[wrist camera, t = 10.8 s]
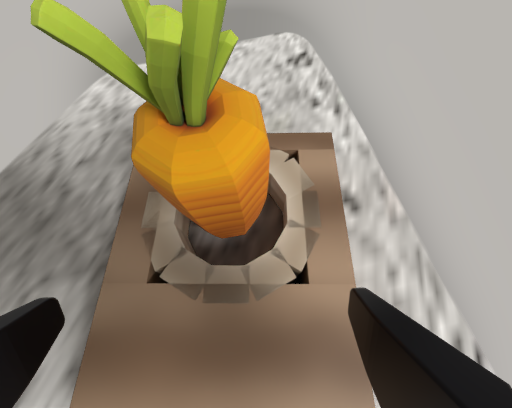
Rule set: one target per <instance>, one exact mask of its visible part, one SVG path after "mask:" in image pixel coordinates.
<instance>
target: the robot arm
mask: <svg viewBox="0 0 512 408" xmlns="http://www.w3.org/2000/svg"><path fill="white" fill-rule="evenodd" d="M348 316H349V320H350V323H351V326H352V329H353V332H354V336H355V339H356V342H357V345H358V349H359V352H360V355H361V358H362V361H363V364H364V367H365V370H366V373H367V376H368V378H369V381H370V383H371V386H372V388H373V390H374V393H375V395H376V397H377V400H378V402H379V405H380V407H381V408H512V388H511V387H510V385H509V384H507V383H506V382H505V381H503V380H502V379H500V378H499V377H497V376H496V375H494V374H493V373H491V372H490V371H488V370H487V369H485V368H484V367H482V366H481V365H479V364H478V363H476V362H475V361H473V360H472V359H470V358H469V357H468V356H466V355H465V354H463V353H462V352H460V351H459V350H457V349H456V348H454V347H453V346H451V345H450V344H448V343H447V342H445V341H444V340H442V339H441V338H439V337H438V336H436V335H435V334H433V333H432V332H430V331H429V330H427V329H426V328H424V327H423V326H422V325H420V324H419V323H417V322H416V321H414V320H413V319H411V318H410V317H408V316H407V315H405V314H404V313H402V312H401V311H399V310H398V309H396V308H395V307H393V306H392V305H390V304H389V303H387V302H386V301H384V300H383V299H381V298H380V297H378V296H377V295H376V294H374V293H373V292H371V291H370V290H368V289H366V288H352V289H351V290H350V295H349V304H348ZM64 323H65V317H64V315H63V312H62V309H61V307H60V304H59V302H58V300H57V299H56V298H53V297H49V298H39V299H36V300H34V301H32V302H30V303H28V304H26V305H23V306H21V307H19V308H17V309H15V310H13V311H11V312H8V313H6V314H4V315H2V316H0V408H13V406H14V405H15V403H16V402H17V401H18V399H19V398H20V396H21V395H22V393H23V392H24V390H25V389H26V387H27V386H28V384H29V383H30V381H31V380H32V378H33V377H34V375H35V373H36V372H37V370H38V368H39V367H40V365H41V363H42V362H43V360H44V358H45V357H46V355H47V353H48V352H49V350H50V348H51V346H52V345H53V343H54V341H55V340H56V338H57V336H58V335H59V333H60V331H61V329H62V328H63V326H64Z"/></svg>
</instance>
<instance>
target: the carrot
mask: <svg viewBox="0 0 512 408" xmlns="http://www.w3.org/2000/svg"><path fill="white" fill-rule="evenodd" d="M122 2H123V4H124V7H125V9H126V12H127V14H128V16H129V18H130V21H131V23H132V25H133V27H134V29H135V31H136V34H137V36H138V38H139V40H140V42H141V44H142V46H143V49H144V51H145V54H146V64H147V74H148V75H147V74H146V73H145V72H144V71H142V70H141V69H140V68H139V67H138V66H137V65H136V64H135V63H134V62H133V61H132V60H131V59H130V58H129V57H128V56H127V55H126V54H124V52H123V51H121V50H120V49H119V48H118V47H117V46H116V45H115V44H114V43H113V42H112V41H111V40H110V39H109V38H108V37H107V36H106V35H105V34H103V33H102V32H101V31H99V30H98V29H97V28H95V27H94V26H92V25H91V24H90V23H88V22H87V21H85V20H84V19H83V18H81V17H80V16H78V15H77V14H76V13H74V12H73V11H71V10H70V9H69V8H67V7H65V6H63V5H61V4H59V3H58V2H56V1H54V0H34V2H33V3H32V5H31V24H32V25H33V26H35V27H36V28H38V29H39V30H41V31H42V32H44V33H46V34H47V35H49V36H50V37H52V38H53V39H55V40H56V41H58V42H60V43H62V44H63V45H65V46H67V47H69V48H70V49H72V50H74V51H75V52H77V53H79V54H80V55H82V56H84V57H85V58H87V59H88V60H90V61H91V62H93V63H94V64H95V65H97V66H98V67H100V68H101V69H102V70H104V71H105V72H107V73H108V74H110V75H111V76H112V77H114V78H115V79H117V80H118V81H119V82H121V83H122V84H124V85H125V86H127V87H128V88H129V89H131V90H132V91H134V92H135V93H136V94H138V95H139V96H140V97H142V98H143V99H145V100H146V102H145V103H144V104H143V105H142V106H140V107H139V108H138V109H137V111H136V113H135V114H134V122H133V138H132V153H131V158H132V161H133V164H134V166H135V168H136V169H137V171H138V172H139V173H140V174H141V175H142V176H143V177H144V178H145V179H146V180H147V181H148V182H149V183H150V184H151V185H152V186H153V187H154V188H155V189H156V190H157V191H158V192H159V193H160V194H161V195H162V196H163V197H164V198H165V199H166V200H167V201H168V202H169V203H171V204H172V205H173V206H174V207H175V208H176V209H177V210H178V211H179V212H181V213H182V214H183V215H185V216H186V217H188V218H189V219H190V220H192V221H193V222H195V223H196V224H197V225H199V226H200V227H201V228H203V229H204V230H206V231H207V232H209V233H211V234H212V235H214V236H217V237H219V238H228V237H234V236H240V235H245V234H246V233H247V231H248V230H249V229H250V227H251V226H252V225H253V223H254V222H255V221H256V219H257V218H258V216H259V214H260V212H261V210H262V208H263V206H264V203H265V200H266V198H267V190H268V181H269V163H270V147H269V141H268V137H267V133H266V129H265V124H264V120H263V116H262V112H261V107H260V103H259V101H258V98H257V96H256V95H254V94H252V93H250V92H248V91H246V90H244V89H241V88H239V87H237V86H235V85H233V84H231V83H229V82H227V81H225V80H223V79H221V78H220V76H221V74H222V72H223V70H224V68H225V66H226V64H227V61H228V59H229V57H230V55H231V53H232V51H233V49H234V47H235V45H236V43H237V41H238V37H237V36H236V35H235V34H234V33H233V32H232V31H231V30H227V31H223V32H221V27H222V22H223V17H224V11H225V6H226V0H183V5H182V13H180V12H178V11H176V10H174V9H172V8H170V7H169V6H167V5H154V6H151V5H150V3H149V0H122Z"/></svg>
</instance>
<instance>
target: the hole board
mask: <svg viewBox="0 0 512 408" xmlns="http://www.w3.org/2000/svg"><path fill="white" fill-rule="evenodd" d="M267 137H268V141H269V147H270V163H269V181H268V190H267V193H269V194H270V195H271V196H272V198H273V199H274V201H275V202H276V204H277V205H278V207H279V208H280V210H281V211H282V213H283V228H284V230H283V232H282V234H281V235H280V237H279V239H278V241H277V242H276V244H275V246H274V248H273V249H272V250H270V251H268V252H267V253H265V254H263V255H262V256H260V257H258V258H256V259H255V260H253V261H251V262H249V263H248V264H246V265H210V264H209V263H207V262H205V261H204V260H202V259H201V258H199V257H197V256H196V254H195V252H194V250H193V247H192V245H191V243H190V241H189V239H188V232H189V224H190V219H189V218H188V217H186V216H185V215H183V214H182V213H181V212H179V211H178V210H177V209H176V208H175V207H174V206H173V205H172V204H171V203H169V202H168V201H167V200H166V199H165V198H164V197H163V196H162V195H161V194H160V193H159V192H158V191H157V190H156V189H155V188H154V187H153V186H152V185H151V184H150V183H149V182H148V181H147V180H146V179H145V178H144V177H143V176H142V175H141V174H140V173H139V172H138V171H137V169H136V168H135V166H134V165H133V169H132V172H131V176H130V180H129V184H128V188H127V191H126V195H125V199H124V203H123V207H122V210H121V214H120V218H119V222H118V226H117V229H116V233H115V237H114V241H113V245H112V248H111V252H110V256H109V260H108V264H107V267H106V271H105V275H104V279H103V283H102V286H101V290H100V294H99V298H98V302H97V305H96V309H95V313H94V317H93V321H92V324H91V328H90V332H89V336H88V339H87V343H86V347H85V351H84V355H83V358H82V362H81V366H80V370H79V374H78V377H77V381H76V385H75V389H74V393H73V396H72V400H71V404H70V408H375V404H374V398H373V391H372V386H371V383H370V381H369V378H368V376H367V373H366V370H365V367H364V364H363V361H362V358H361V355H360V352H359V349H358V345H357V342H356V339H355V336H354V332H353V329H352V326H351V323H350V320H349V316H348V304H349V295H350V290H351V289H352V288H356V284H355V278H354V271H353V265H352V259H351V252H350V246H349V240H348V233H347V227H346V221H345V215H344V208H343V202H342V196H341V189H340V183H339V177H338V170H337V164H336V158H335V151H334V145H333V139H332V133H267ZM299 274H300V277H301V284H291V283H292V282H293V281H294V279H295V278H296V277H297V276H298V275H299ZM167 282H168V283H169V284H167Z"/></svg>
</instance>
